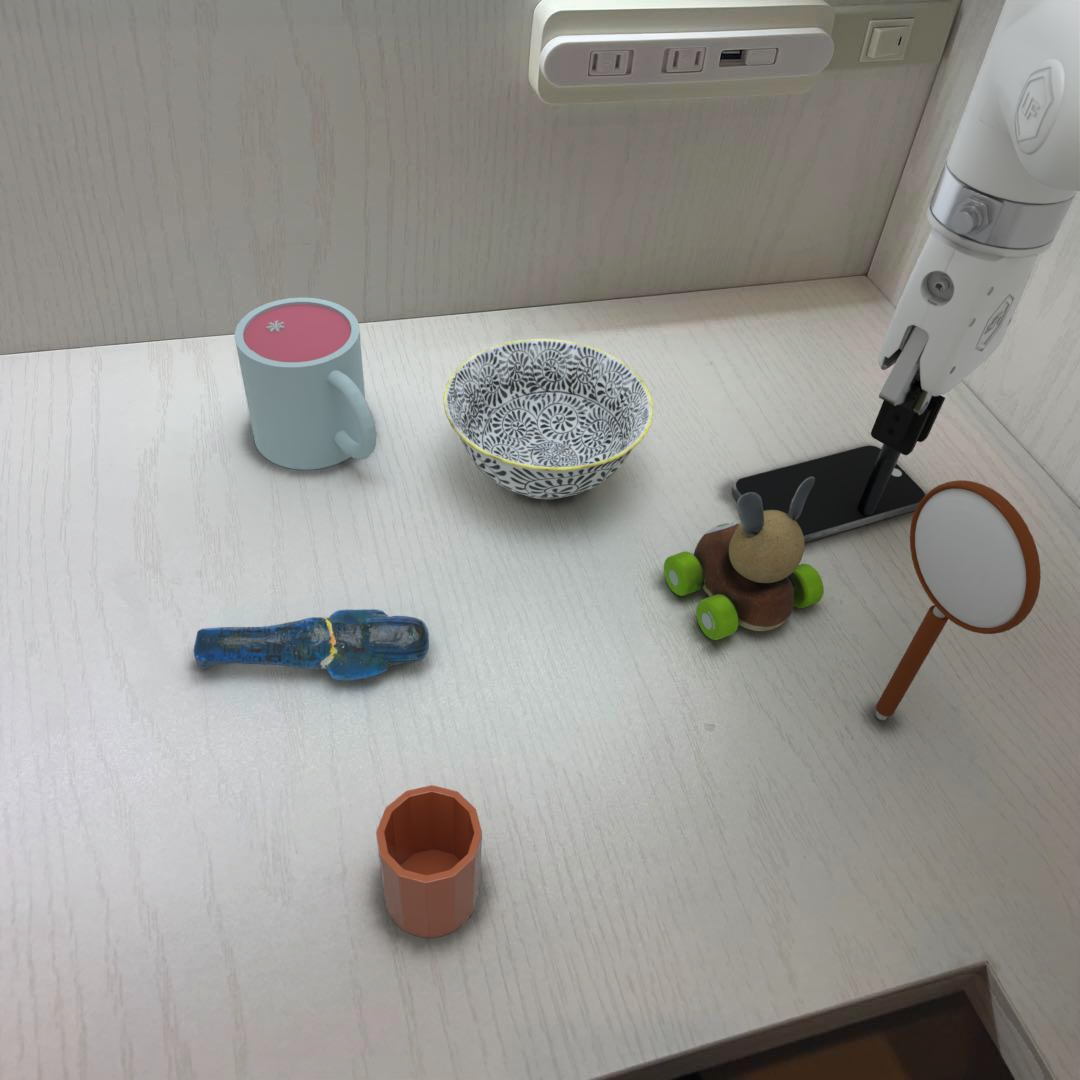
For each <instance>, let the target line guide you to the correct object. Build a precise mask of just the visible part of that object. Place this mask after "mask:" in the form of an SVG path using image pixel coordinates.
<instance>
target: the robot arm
mask: <svg viewBox="0 0 1080 1080" xmlns="http://www.w3.org/2000/svg"><path fill="white" fill-rule="evenodd" d="M1077 192H1080V0H1005V1H1004V4H1003V6H1002V9H1001V12H1000V14H999V17H998V20H997V23H996V25H995V28H994V31H993V33H992V36H991V38H990V41H989V44H988V47H987V50H986V52H985V56H984V57H983V60H982V64H981V66H980V68H979V70H978V73H977V76H976V79H975V82H974V84H973V86H972V90H971V93H970V95H969V97H968V100H967V102H966V105H965V109H964V111H963V113H962V116H961V119H960V122H959V125H958V127H957V130H956V133H955V135H954V138H953V140H952V144H951V146H950V149H949V151H948V154H947V157H946V159H945V162H944V164H943V167H942V169H941V172H940V175H939V178H938V180H937V183H936V186H935V189H934V191H933V193H932V196H931V198H930V202H929V204H928V207H927V210H926V218H927V221H928V224H930V226H931V227H932V230H931V232H930V233H929V236H928V238H927V239H926V242H925V244H924V246H923V247H922V251H921V252H920V254H919V256H918V258H917V260H916V263H915V265H914V267H913V269H912V271H911V274H910V276H909V278H908V280H907V283H906V285H905V287H904V289H903V291H902V294H901V296H900V298H899V301H898V303H897V305H896V308H895V310H894V312H893V315H892V318H891V320H890V322H889V324H888V327H887V330H886V333H885V335H884V339H883V341H882V344H881V348H880V351H879V354H878V358H877V359H878V360H877V361H878V365H879V368H880V369H881V371H886V370H887V369H889V368H890V367H892V369H891V371H890V373H889V375H888V377H887V378H886V380H885V382H884V384H883V386H882V388H881V390H880V392H879V394H878V398H879V399H881V400H882V403H881V406H880V409H879V410H878V414H877V415H876V418H875V421H874V423H873V426H872V428H871V431H870V436H871V437H872V438H873V439H874V440H876V441H878V442H879V443H881V444H882V445H883V444H885V445H887V446H889V447H890V448H892V449H894V450H896V451H898V452H899V453H901V454H900V455H903V456H909V455H910V454H911V453H912V452H913V451H914V449H915V447H916V445H917V443H918V442H919V443H922V442H925V440H927V439H928V438H929V435H930V433H931V430H932V429H933V426H934V424H935V423H936V420H937V417H938V415H939V414H940V411H941V409H942V406H943V404H944V402H945V400H946V397H945V396H943V395H945V394H947V393H949V392H951V390H953V389H954V388H955V387H957V386H958V385H959V384H960V383H961V382H963V381H964V380H965V379H966V378H968V376H970V375H971V374H972V373H973V372H974V371H975V370H976V369H977V368H978V367H980V366H981V365H982V364H983V363H984V362H985V361H986V360H988V359H989V358H990V357H991V356H992V355H993V353H995V352H996V351H997V349H998V348H999V346H1000V345H1001V343H1002V342H1003V340H1004V338H1005V335H1006V333H1007V331H1008V329H1009V327H1010V324H1011V322H1012V319H1013V318H1014V315H1015V313H1016V310H1017V307H1018V306H1019V303H1020V301H1021V299H1022V297H1023V294H1024V292H1025V289H1026V287H1027V284H1028V282H1029V279H1030V277H1031V275H1032V272H1033V269H1034V268H1035V265H1036V263H1037V260H1038V257H1039V255H1040V254H1043V253H1045V252H1046V251H1048V250H1049V249H1050V248H1051V246H1052V244H1053V243H1054V240H1055V238H1056V236H1057V234H1058V231H1059V229H1060V227H1061V226H1062V223H1063V221H1064V220H1065V217H1066V216H1067V214H1068V211H1069V209H1070V207H1071V205H1072V203H1073V200H1074V199H1075V197H1076V194H1077ZM912 380H915V381H917V382H919V383H921V388H922V389H921V391H920V389H919V387H917V386H915V385H913V384H911V382H912Z"/></svg>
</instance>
